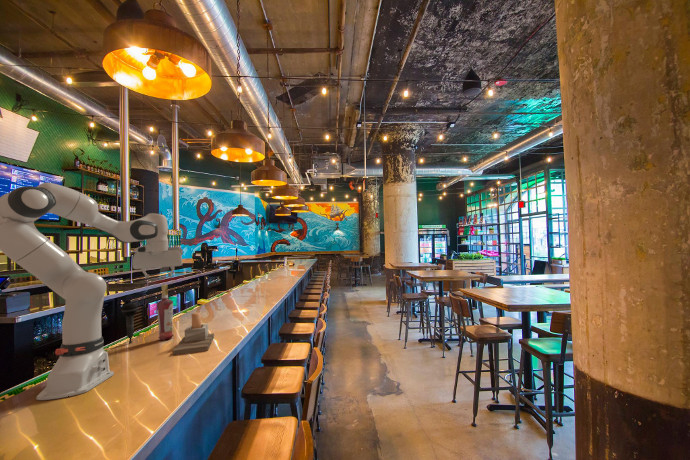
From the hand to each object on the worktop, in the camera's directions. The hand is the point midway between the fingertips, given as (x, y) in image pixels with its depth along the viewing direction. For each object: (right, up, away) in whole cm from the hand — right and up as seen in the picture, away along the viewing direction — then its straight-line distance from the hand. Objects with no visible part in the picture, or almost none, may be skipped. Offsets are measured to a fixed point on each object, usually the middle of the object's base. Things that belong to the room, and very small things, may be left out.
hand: (158, 277), depth 149 cm
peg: (+15, -31, +6) cm, 35 cm away
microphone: (-20, -35, +10) cm, 42 cm away
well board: (+17, -32, +1) cm, 36 cm away
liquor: (-5, -34, +14) cm, 37 cm away
